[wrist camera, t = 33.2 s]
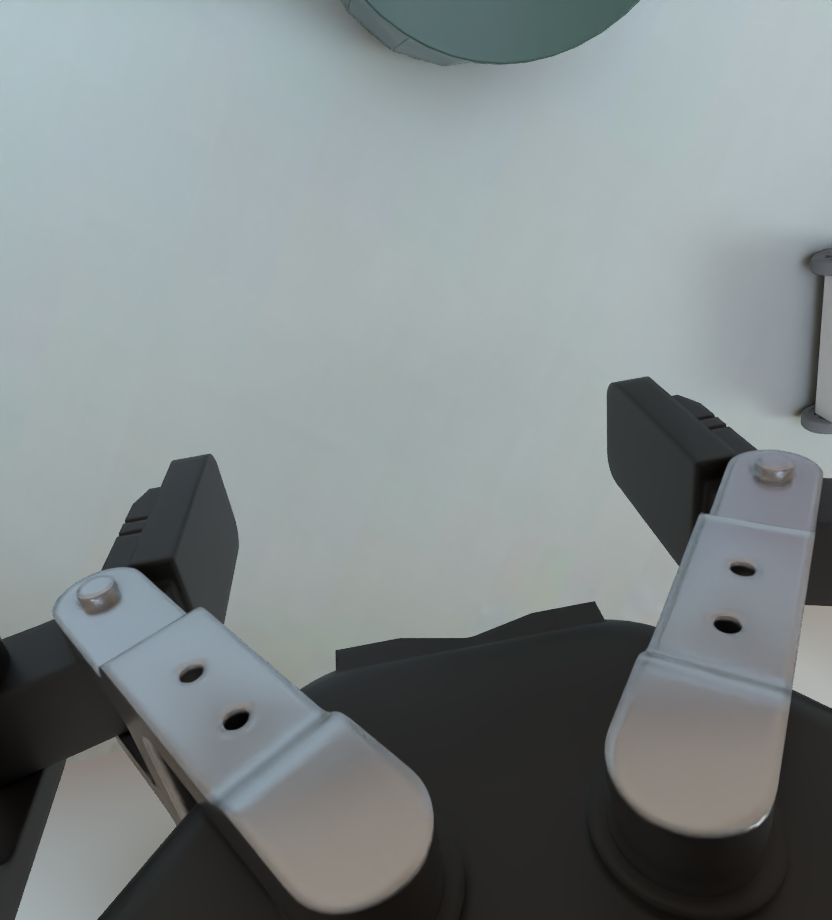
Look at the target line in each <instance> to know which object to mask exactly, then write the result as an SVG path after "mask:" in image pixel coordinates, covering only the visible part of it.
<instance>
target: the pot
mask: <svg viewBox="0 0 832 920" xmlns="http://www.w3.org/2000/svg"><path fill="white" fill-rule="evenodd" d="M341 1H342V3H343V5H344V6H345V8H346V10H347V11H348V12H349V13H350V14H351V15H352V16H353V17H354V18H355V19H357V20H358V21H359V22H360V23H361V24H362V25H363V26H364V27H365V28H366V29H367V30H368V31H369V32H370V33H371V34H372V35H374V36H375V37H376V38H378V39H379V40H380V41H382V42H383V43H384V44H385V45H386V46H387V47H389V48H390V49H391V50H393V51H395V52H398V53H401V54H405V55H408V56H410V57H413V58H415V59H419V60H423V61H427V62H431V63H434V64H437V65H441V66H449V65H455V64H462V63H469V62H468V61H464V60H460V59H455V58H451V57H448V56H445V55H443V54H440V53H438V52H435V51H433V50H430V49H427V48H425V47H423V46H422V45H420V44H418V43H416V42H415V41H413V40H411V39H409V38H408V37H406V36H404V35H402V34H401V33H400V32H398V31H397V30H396V29H394V28H393V27H392V26H391V25H389V24H388V23H387V22H385V21H384V20H383V19H382V18H380V17H379V16H378V15H377V14H376V13H375V12H374V11H373V10H372V9H371V8H370V7H369V6H368V5H367V4H366V3H365V2H364V1H363V0H341Z"/></svg>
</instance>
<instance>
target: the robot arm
mask: <svg viewBox="0 0 832 920" xmlns="http://www.w3.org/2000/svg"><path fill="white" fill-rule="evenodd" d="M607 455H608V463H609V467H610V471H611V474H612V476H613V478H614V480H615V482H616V483H617V485H618V486H619V487H620V489H621V490H622V491H623V493H624V494H625V495H626V497H627V498H628V499H629V500H630V502H631V503H632V504H633V506H634V507H635V508H636V510H637V511H638V512H639V514H640V515H641V516H642V518H643V519H644V520H645V522H646V523H647V524H648V526H649V527H650V528H651V530H652V531H653V532H654V534H655V535H656V536H657V538H658V539H659V540H660V542H661V543H662V544H663V546H664V547H665V548H666V550H667V551H668V552H669V554H670V555H671V556H672V558H673V559H674V560H675V561H676V563H677V564H678V565H679V568H678V571H677V574H676V576H675V579H674V581H673V584H672V587H671V589H670V592H669V594H668V597H667V600H666V602H665V605H664V607H663V610H662V613H661V615H660V618H659V620H658V623H657V626H656V627H654V626H650V625H647V624H642V623H637V622H631V621H622V620H604V618H603V616H602V614H601V612H600V610H599V609H598V607H597V605H596V603H595V601H594V602H588V603H583V604H578V605H572V606H567V607H562V608H557V609H551V610H546V611H541V612H536V613H531V614H529V615H526V616H524V617H521V618H519V619H516V620H514V621H511V622H509V623H506V624H504V625H501V626H499V627H496V628H494V629H491V630H489V631H486V632H484V633H481V634H479V635H476V636H473V637H469V638H399V639H393V640H388V641H383V642H378V643H372V644H367V645H362V646H357V647H351V648H346V649H341V650H336V671H334V672H331V673H329V674H326V675H324V676H322V677H321V678H319V679H317V680H315V681H313V682H311V683H310V684H308V685H306V686H305V687H303V688H302V689H300V690H299V689H298V688H297V687H296V686H295V685H293V684H292V683H291V682H290V681H289V680H288V679H286V678H285V677H284V676H283V675H282V674H281V673H279V672H278V671H277V670H276V669H275V668H274V667H272V666H271V665H270V664H269V663H268V662H267V661H265V660H264V659H263V658H262V657H261V656H260V655H258V654H257V653H256V652H255V651H254V650H253V649H251V648H250V647H249V646H248V645H247V644H246V643H244V642H243V641H242V640H241V639H240V638H239V637H237V636H236V635H235V634H234V633H233V632H232V631H230V630H229V629H228V628H227V627H226V626H225V625H224V621H225V616H226V610H227V605H228V600H229V595H230V590H231V585H232V580H233V575H234V570H235V564H236V559H237V554H238V547H239V540H238V531H237V526H236V521H235V518H234V515H233V512H232V509H231V506H230V502H229V499H228V496H227V493H226V490H225V487H224V484H223V481H222V478H221V475H220V471H219V468H218V465H217V463H216V460H215V459H214V457H213V456H212V455H211V454H206V455H200V456H195V457H189V458H184V459H178V460H173V461H172V462H171V464H170V466H169V469H168V471H167V473H166V476H165V478H164V480H163V483H162V485H161V487H158V488H152V489H149V490H148V491H147V492H146V493H145V494H144V495H143V496H142V497H140V498H139V499H138V500H137V501H136V502H135V503H134V504H133V505H132V507H131V509H130V511H129V513H128V515H127V517H126V520H125V524H123V526H122V528H121V530H120V532H119V537H117V538H116V540H115V543H114V545H113V547H112V549H111V551H110V553H109V555H108V557H107V559H106V561H105V563H104V566H103V568H102V570H101V571H99V572H97V573H94V574H91V575H89V576H87V577H85V578H83V579H81V580H80V581H78V582H76V583H75V584H73V585H72V586H70V587H69V588H68V589H67V590H66V591H64V592H63V594H62V595H61V596H60V597H59V598H58V599H57V601H56V602H55V604H54V607H53V611H52V613H53V617H54V619H53V620H51V621H49V622H46V623H44V624H41V625H39V626H36V627H34V628H31V629H28V630H26V631H23V632H20V633H18V634H15V635H13V636H10V637H7V638H5V639H1V638H0V920H15V917H16V914H17V911H18V908H19V905H20V902H21V898H22V895H23V892H24V889H25V886H26V883H27V880H28V877H29V874H30V871H31V868H32V865H33V861H34V859H35V855H36V852H37V849H38V846H39V843H40V840H41V837H42V834H43V831H44V828H45V825H46V822H47V818H48V815H49V812H50V809H51V806H52V803H53V800H54V797H55V794H56V791H57V788H58V785H59V782H60V779H61V775H62V772H63V769H64V766H65V763H66V758H68V757H71V756H73V755H75V754H77V753H80V752H82V751H84V750H86V749H89V748H91V747H93V746H95V745H98V744H100V743H102V742H104V741H106V740H109V739H111V738H113V737H116V739H117V741H118V743H119V744H120V745H121V747H122V748H123V750H124V751H125V752H126V754H127V755H128V757H129V758H130V759H131V761H132V762H133V763H134V765H135V766H136V768H137V769H138V770H139V772H140V773H141V775H142V776H143V777H144V779H145V780H146V781H147V783H148V784H149V786H150V787H151V788H152V790H153V791H154V793H155V794H156V795H157V797H158V798H159V800H160V801H161V802H162V804H163V805H164V807H165V808H166V809H167V811H168V813H169V814H170V816H171V817H172V819H173V821H174V822H175V824H176V826H177V827H176V828H175V829H174V830H173V831H172V833H171V834H170V835H169V836H168V837H167V838H166V840H165V841H164V842H163V843H162V844H161V845H160V847H159V848H158V849H157V850H156V851H155V852H154V854H153V855H152V856H151V857H150V858H149V859H148V861H147V862H146V863H145V864H144V866H143V867H142V868H141V869H140V870H139V871H138V873H137V874H136V875H135V876H134V877H133V878H132V879H131V881H130V882H129V883H128V884H127V886H126V887H125V888H124V889H123V890H122V891H121V893H120V894H119V895H118V896H117V897H116V898H115V900H114V901H113V902H112V903H111V904H110V905H109V907H108V908H107V909H106V910H105V911H104V913H103V914H102V915H101V916H100V917H99V918H98V920H832V708H829V707H827V706H825V705H823V704H821V703H819V702H817V701H815V700H813V699H811V698H809V697H807V696H805V695H802V694H800V693H798V692H796V691H794V690H792V685H793V679H794V672H795V666H796V659H797V652H798V646H799V639H800V632H801V626H802V619H803V612H804V606H805V605H819V606H832V478H823V472H822V470H821V468H820V467H819V466H818V465H817V464H816V463H815V462H813V461H811V460H810V459H808V458H806V457H803V456H801V455H798V454H795V453H791V452H786V451H780V450H757V449H756V448H755V447H753V446H752V445H751V444H750V443H748V442H747V441H746V440H745V439H744V438H742V437H741V436H740V435H739V434H737V433H736V432H735V431H734V430H733V429H731V428H730V427H726V424H725V423H724V422H723V421H721V420H720V419H719V418H718V417H715V416H714V414H713V413H712V412H710V411H709V410H708V409H707V408H706V407H704V406H703V405H702V404H701V403H698V402H696V401H693V400H690V399H688V398H685V397H682V396H679V395H674V396H671V395H670V394H668V393H667V392H666V391H665V390H664V389H663V388H662V387H660V386H659V385H658V384H657V383H656V382H655V381H653V380H652V379H651V378H650V377H642V378H636V379H630V380H625V381H619V382H614V383H611V384H610V385H609V387H608V390H607Z"/></svg>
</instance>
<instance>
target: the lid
mask: <svg viewBox="0 0 832 920" xmlns="http://www.w3.org/2000/svg"><path fill="white" fill-rule="evenodd" d="M363 1H364V2H365V3H366V4H367V5H368V6H369V7H370V8H371V9H372V10H373V11H374V12H375V13H376V14H377V15H378V16H379V17H380V18H382V19H383V20H384V21H385V22H387V23H388V24H389V25H391V26H392V27H393V28H394V29H396V30H397V31H398V32H400V33H401V34H402V35H404V36H406V37H408V38H409V39H411V40H413V41H415V42H416V43H418V44H420V45H422V46H423V47H425V48H427V49H430V50H433V51H435V52H438V53H440V54H443V55H445V56H448V57H451V58H455V59H460V60H464V61H468V62H473V63H483V64H497V65H503V64H515V63H526V62H530V61H535V60H539V59H543V58H547V57H551V56H555V55H557V54H560V53H562V52H565V51H567V50H570V49H572V48H575V47H577V46H579V45H581V44H583V43H584V42H586V41H588V40H590V39H591V38H593V37H595V36H597V35H598V34H600V33H602V32H603V31H605V30H606V29H607V28H609V27H610V26H611V25H613V24H614V23H615V22H616V21H618V20H619V19H620V18H622V17H623V16H624V15H626V14H627V13H628V12H629V11H630V10H631V9H632V8H633V7H634V6H635V5H636V4H637V3H638V2H639V1H640V0H363Z"/></svg>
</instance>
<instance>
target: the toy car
mask: <svg viewBox="0 0 832 920" xmlns="http://www.w3.org/2000/svg"><path fill="white" fill-rule="evenodd" d="M810 269H811V271H812V272H813V273H815V274H817V275H822V276H825V282H824V296H823V309H822V323H821V337H820V351H819V364H818V378H817V392H816V404H815V405H811V406H809V407H807V408H805V409H804V410H803V411H802V413H801V425H802V426H803V427H804V428H805V429H807V430H809V431H811V432H814V433H819V434H832V249H828V250H824V251H821V252H818V253H816V254H814V255H813V256H812V257H811V266H810Z"/></svg>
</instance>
